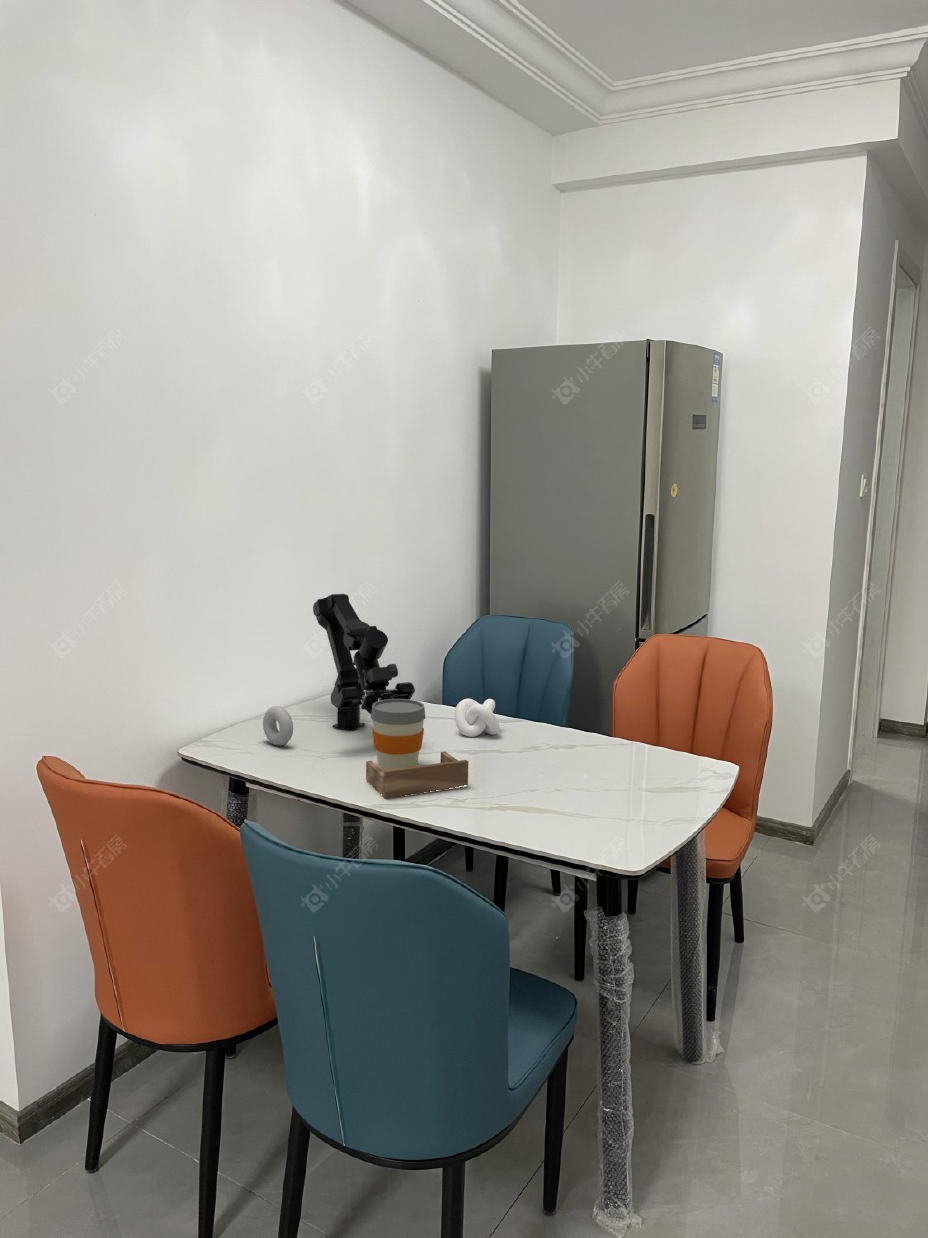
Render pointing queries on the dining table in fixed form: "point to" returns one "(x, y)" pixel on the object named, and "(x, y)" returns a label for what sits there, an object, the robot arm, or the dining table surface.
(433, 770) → the holder
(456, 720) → the white knot
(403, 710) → the reusable coffee cup
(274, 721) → the donut
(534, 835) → the dining table surface
